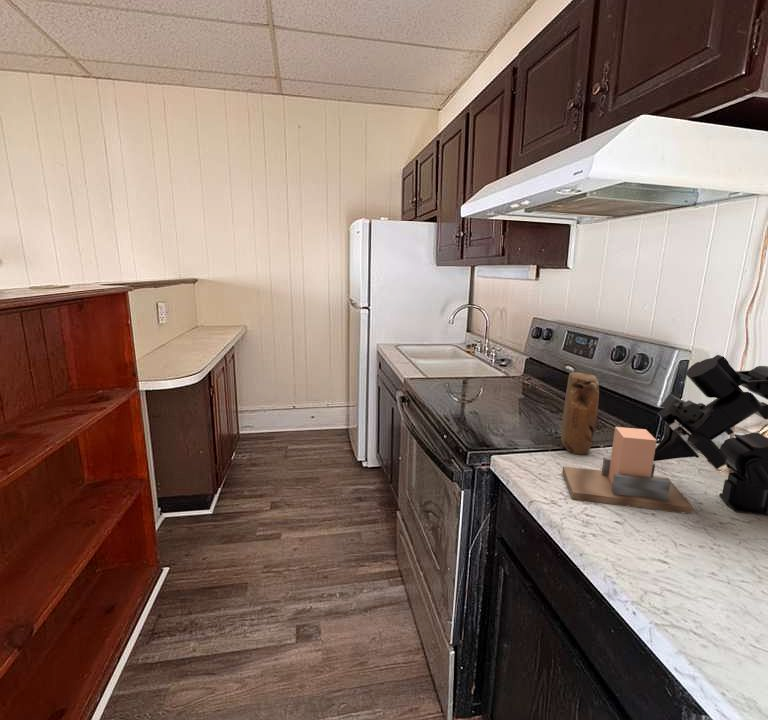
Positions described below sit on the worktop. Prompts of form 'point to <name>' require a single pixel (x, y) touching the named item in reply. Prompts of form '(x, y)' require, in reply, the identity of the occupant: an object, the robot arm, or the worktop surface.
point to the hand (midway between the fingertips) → (651, 458)
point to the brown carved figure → (580, 412)
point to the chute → (625, 489)
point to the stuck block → (632, 452)
